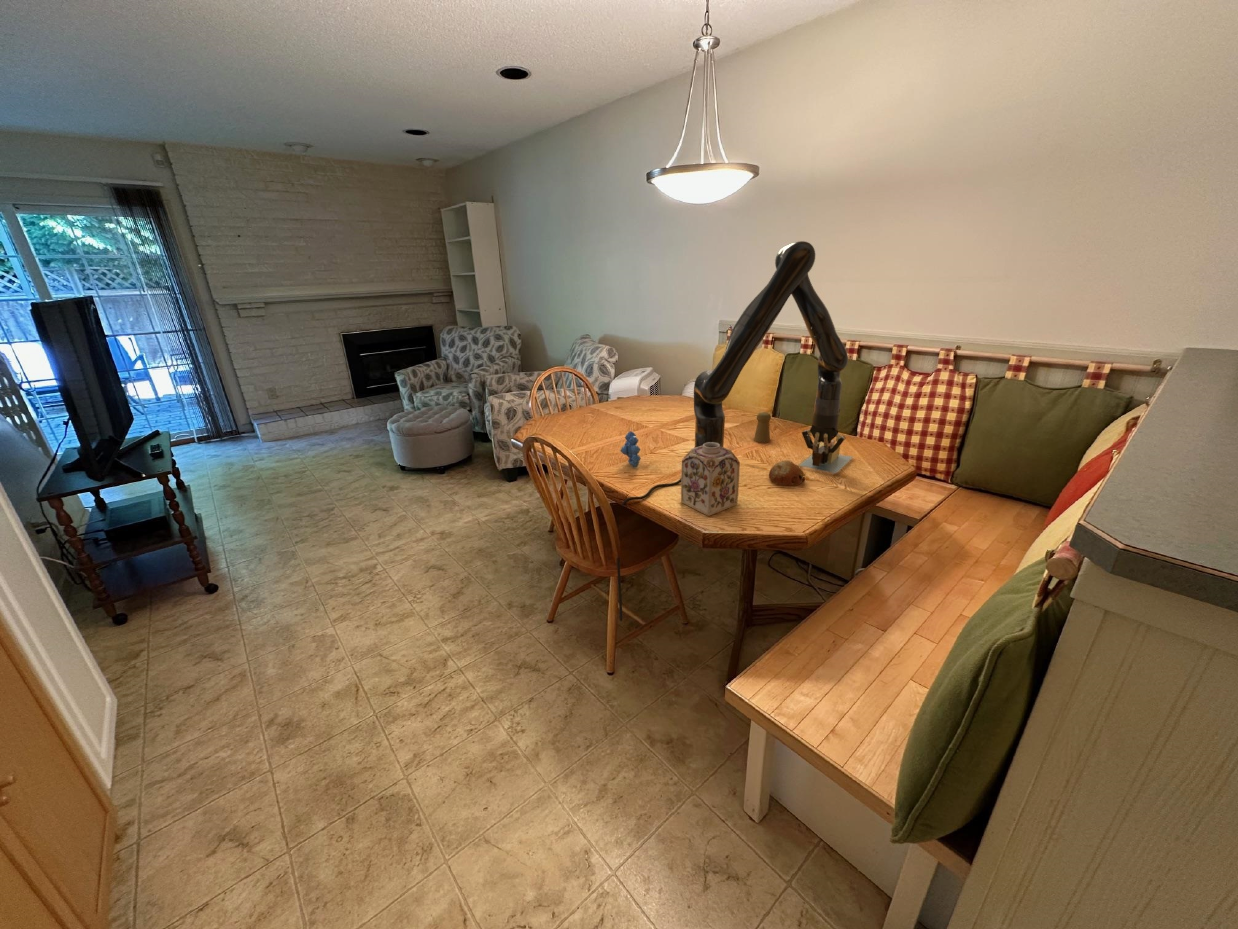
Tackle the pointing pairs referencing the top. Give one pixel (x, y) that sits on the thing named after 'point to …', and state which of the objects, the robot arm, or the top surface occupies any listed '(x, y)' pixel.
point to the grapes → (631, 449)
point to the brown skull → (786, 474)
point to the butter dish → (828, 464)
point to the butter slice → (833, 455)
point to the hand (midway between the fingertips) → (819, 462)
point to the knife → (819, 455)
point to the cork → (762, 428)
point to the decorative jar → (710, 478)
